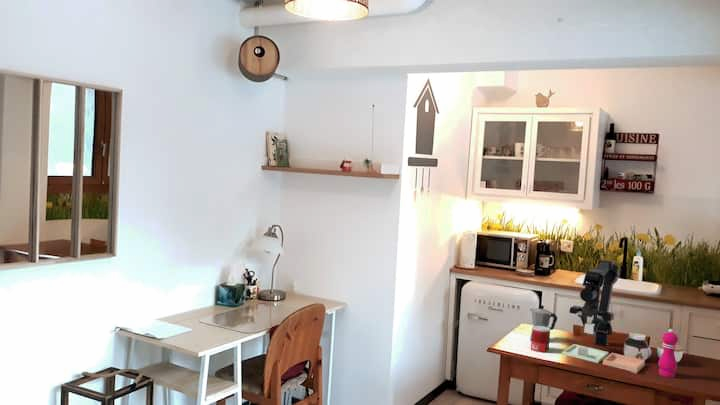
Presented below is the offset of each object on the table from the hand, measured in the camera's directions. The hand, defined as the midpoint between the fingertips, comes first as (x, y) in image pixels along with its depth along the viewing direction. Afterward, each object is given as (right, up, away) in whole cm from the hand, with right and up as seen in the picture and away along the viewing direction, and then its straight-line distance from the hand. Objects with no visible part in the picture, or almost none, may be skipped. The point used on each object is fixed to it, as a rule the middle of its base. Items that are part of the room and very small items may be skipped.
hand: (589, 331), depth 278 cm
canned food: (-23, -10, +1) cm, 25 cm away
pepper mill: (+24, -14, -22) cm, 36 cm away
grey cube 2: (-5, -10, -5) cm, 13 cm away
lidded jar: (+34, -13, -5) cm, 37 cm away
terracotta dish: (+10, -12, -13) cm, 21 cm away
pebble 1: (0, -1, 0) cm, 1 cm away
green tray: (-3, -11, -2) cm, 11 cm away
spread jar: (+21, -12, -3) cm, 24 cm away
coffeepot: (-18, -9, +16) cm, 26 cm away
